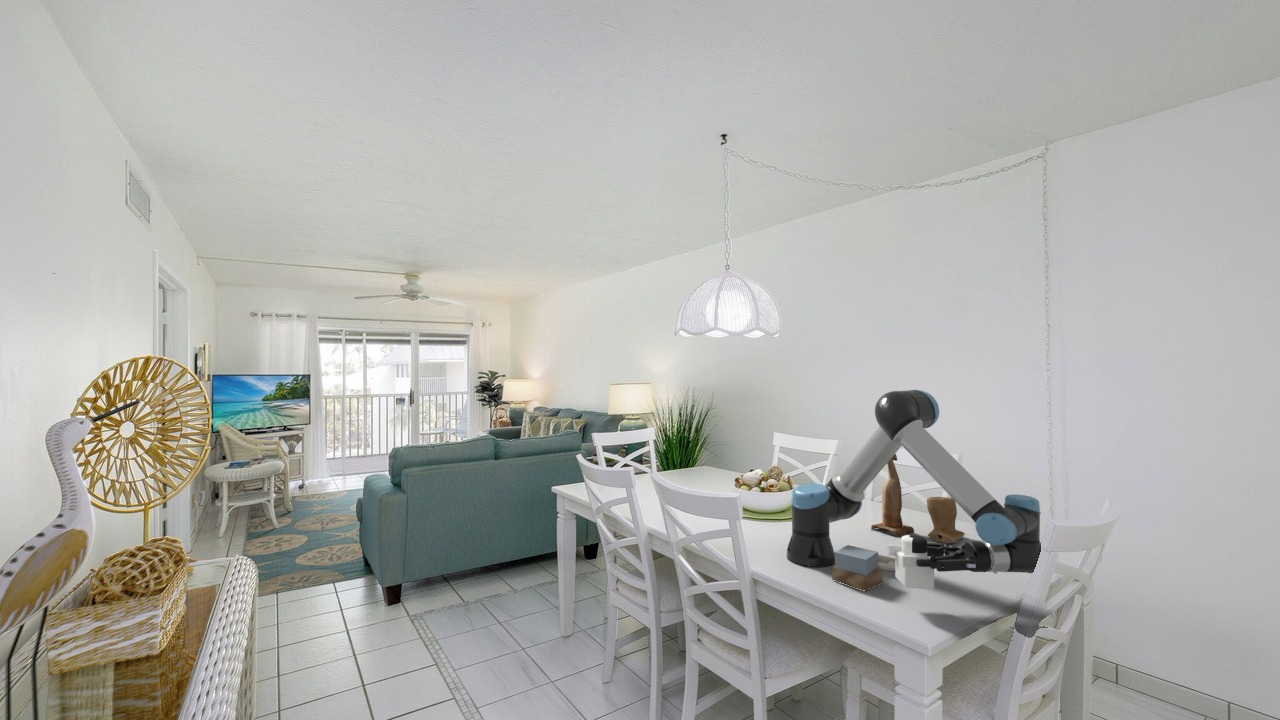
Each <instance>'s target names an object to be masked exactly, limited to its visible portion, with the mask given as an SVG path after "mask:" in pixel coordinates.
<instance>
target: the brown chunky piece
mask: <svg viewBox="0 0 1280 720" xmlns="http://www.w3.org/2000/svg"><path fill="white" fill-rule="evenodd" d="M926 509H927V510H928V511H927V512H928V514H929V517H930V519H931V522H932V525H933V529H932V530H931V531H930V532H929V533H927V536H928V538H931V540H933V541H935V542H936V543H937V542H938V543H948V544H951V543H955V542H957V541H959V540H960V539H962V538H963V537H964V536H965V532H963V531H961V530H959V529H956V519H957V515H958V510H957V504H956V502H955V501H954V499H953V498H952V497H951V496H930V497H927V498H926Z"/></svg>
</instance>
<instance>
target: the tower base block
mask: <svg viewBox="0 0 1280 720" xmlns="http://www.w3.org/2000/svg"><path fill="white" fill-rule="evenodd" d="M831 570H832V572H831V577H832V578H831V579H832V580H835V581H838V582H841V583H844V584H847V585H849V586H852V587H855V588H858V589H861V590H867V589H869V588H871V589H873V588H875V587H877V585H878V586H879V584H880V585H882V584H883V583H884V570H883V569H882V568H879V567H878V568H877V569H875V570H874V571H872V572H871V573H869V574H868V575H867V576H865V575H861V574H857V573H853V572H849V571H845V570H841V569H838V568H835V565H832V566H831ZM881 583H882V584H881ZM849 586H848V587H849ZM874 586H875V587H874ZM852 587H851V588H852ZM872 587H873V588H872ZM855 588H854V589H855ZM858 589H857V590H858ZM861 590H860V591H861ZM869 590H870V589H869ZM867 591H868V590H867Z"/></svg>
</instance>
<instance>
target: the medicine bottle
mask: <svg viewBox="0 0 1280 720" xmlns="http://www.w3.org/2000/svg"><path fill="white" fill-rule="evenodd" d="M927 543H928V540H927V539H926V538H925V537H923V536H920V535H918V534H917V535H916V534H908V535H902V536H901V545H902V551H896V555H895V556H894V558H895V572H894V574H895V575H894V577H895V579H897V580H898V581H899V582H900V583H901V585H902V586H903V587H904V588H905V589H906V588H907V589H924V590H925V589H927V590H928V589H930V590H934V589H935V569H932V568H930V567H929V568H919V567H902V556H927ZM929 559H930V557H929Z"/></svg>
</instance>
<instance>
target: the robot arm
mask: <svg viewBox="0 0 1280 720" xmlns="http://www.w3.org/2000/svg"><path fill="white" fill-rule="evenodd" d="M874 417H875V419H876V422H877V424H878V425H879V426H878V428H877V429H875V431H874V432H873V433H872V434H871V436H870V437H869V438H868V440H867V441H866V443H865V444H864V445H863V446H862V448H860V450H859V451H858V453H856V455H855V456H854V457H853V459H852V460H851V461H850V462H849V463H848V465H847V467H845V468H844V469H843V471H842V473H836V474H834V475H833V476H832V477H831V478H830V480H829V481H828V482H827V484H825V485H824V484H820V483H809V484H808V483H805V484H800V485H797V486H795V487H794V488H793V490H792V492H791V493H792V494H791V499H790V500H791V522H792V523H791V526H792V527H791V530H792V532H791V536H790V540H789V541H788V542H789V543H788V544H787V548H786V559H787V560H789V561H790V560H791V561H790V562H792V561H793V562H792V563H794V562H796V563H799V564H798V565H800V564H803V565H802V566H804V565H809V566H808V567H812V566H824V567H828V566H833V565H835V552H836V551H835V550H834V546H833V543H832V539H831V536H830V523H833V522H834V523H835V522H837V521H841V520H848V519H851V518H853V517H854V516H855V515H857V514H858V513H859V512H860V510H861V509H862V505H863V500H864V499H865V493H864V491H865V490H866V489H867V488H868V487H869V486H870V485H871V483H872V482H873V481H874V479H876V478H877V476H879V474H880V472H881V471H882V470H883V469H884V468H885V466H886V465H887V463H888V462H889V460H890V459H891V458H892V457H893V456H894V455H895V454H897V453H898V451H899V450H900V449H901V447H903V448H904V449H905V451H907V452H908V453H909V455H910V456H911V457H912V458H913V459H915V461H916V462H917V463H918V464H919V465H920V466H921V467H922V469H924V471H925V472H926V473H927V474H928V475H930V477H932V479H933V480H934V481H935V482H936V483H937V484H938V485H939V486H940V487H941V488H942V489H943V490H944V491H945V492H946V494H947V495H949V497H952V498H953V499H954V501H955V502H956V503H957V504H956V505H958V506H959V507H960V508H961V509H962V510H963V511H964V512H965V514H967V516H968V517H970V518H971V520H973V522H974V523H975V531H976V534H977V535H978V537H979V538H980V541H978V540H977V541H973V540H972V541H965V542H964V543H963V545H962V546H961V547H959V546H953V545H951V546H950V543H941V542H938V543H937V542H936V543H935V542H927V556H902V567H919V568H929V567H930V568H932V569H934V570H935V569H936V571H937V572H940V573H941V572H960V571H961V572H962V571H963V572H964V571H970V572H972V573H987V572H988V573H993V574H995V575H996V574H998V573H1021V574H1023V573H1025V574H1026V573H1027V574H1034V573H1033V572H1034V569H1035V567H1036V564H1037V561H1038V558H1039V555H1040V552H1041V543H1042V542H1041V539H1040V538H1041V537H1040V535H1041V534H1040V533H1041V532H1040V531H1041V530H1040V528H1041V507H1040V506H1041V505H1040V501H1039V499H1037V498H1036V497H1033V496H1030V495H1026V494H1025V495H1023V494H1008V495H1006V496H1005V497H1004V504H1003V505H1002V504H1001V503H1000V502H999V501H998V500H997V499H996V498H995V497H993V495H992V494H991V493H990V492H989V491H988V490H986V489H985V487H983V485H981V483H980V482H979V481H978V480H977V479H975V477H974V476H973V475H972V474H971V473H970V472H969V471H967V470H966V468H965V467H964V466H963V465H962V464H961V463H960V462H959V461H958V460H957V459H955V457H954V456H953V455H951V453H950V452H948V450H946V448H944V446H942V444H941V443H939V441H938V440H936V438H934V436H933V435H931V434H930V433H929V431H927V429H928V428H929V429H930V428H931V427H932V426H933V425H934V424H936V422H938V419H939V417H940V407H939V403H938V401H937V400H936V398H935V397H934V396H933V395H932V394H930V393H929V392H927V391H925V390H919V389H910V390H894V391H888V392H886V393H884V394H883V395H881V396H880V397H879V399H878V400H877V402H876V404H875V407H874ZM981 540H982V541H981ZM896 551H902V544H888V545H887V556H888V557H895V555H896ZM929 558H930V559H929ZM796 563H795V564H796Z"/></svg>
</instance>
